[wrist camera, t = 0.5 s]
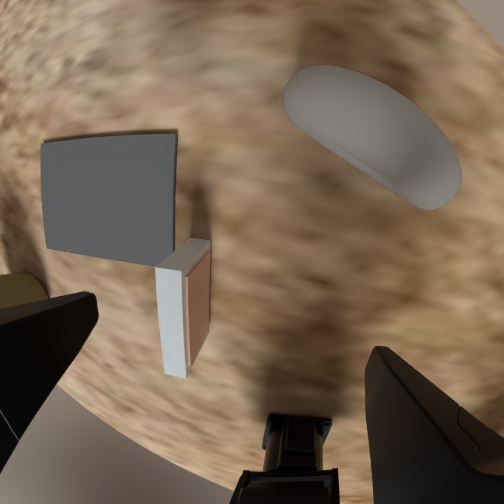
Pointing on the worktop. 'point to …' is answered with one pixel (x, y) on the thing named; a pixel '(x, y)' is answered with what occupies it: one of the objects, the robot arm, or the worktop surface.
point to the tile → (183, 304)
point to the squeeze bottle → (20, 289)
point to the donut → (375, 132)
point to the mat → (111, 196)
